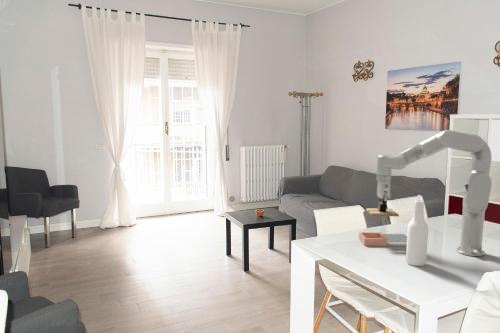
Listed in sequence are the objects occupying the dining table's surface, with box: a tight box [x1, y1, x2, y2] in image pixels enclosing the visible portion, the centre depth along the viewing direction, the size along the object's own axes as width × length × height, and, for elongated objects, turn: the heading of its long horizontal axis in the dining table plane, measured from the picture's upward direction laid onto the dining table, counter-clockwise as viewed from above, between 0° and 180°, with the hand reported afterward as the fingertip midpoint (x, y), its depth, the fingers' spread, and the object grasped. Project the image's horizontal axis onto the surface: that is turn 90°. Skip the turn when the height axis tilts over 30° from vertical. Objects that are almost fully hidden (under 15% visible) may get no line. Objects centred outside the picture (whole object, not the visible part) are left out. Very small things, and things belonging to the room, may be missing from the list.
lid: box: [365, 201, 400, 218], centre depth 218 cm, size 14×14×6 cm
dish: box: [358, 231, 388, 247], centre depth 217 cm, size 12×12×4 cm
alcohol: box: [405, 199, 429, 267], centre depth 185 cm, size 9×9×30 cm
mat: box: [382, 233, 407, 243], centre depth 226 cm, size 16×16×1 cm
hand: (382, 210), depth 218 cm, fingers closed on lid, 3 cm apart
